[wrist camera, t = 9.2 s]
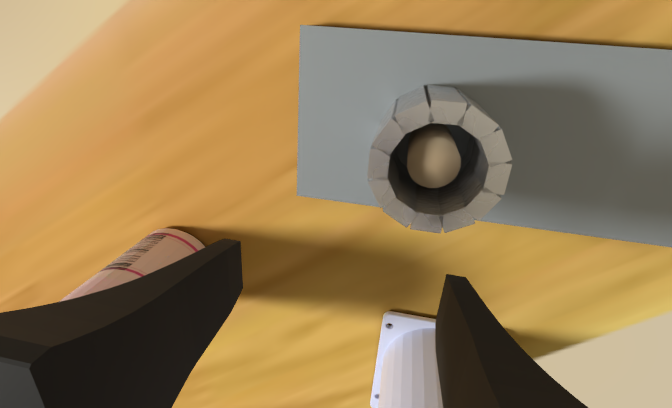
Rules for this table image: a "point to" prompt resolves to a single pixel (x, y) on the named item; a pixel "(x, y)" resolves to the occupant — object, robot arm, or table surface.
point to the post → (432, 156)
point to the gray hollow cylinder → (475, 171)
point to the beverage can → (141, 260)
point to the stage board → (503, 123)
